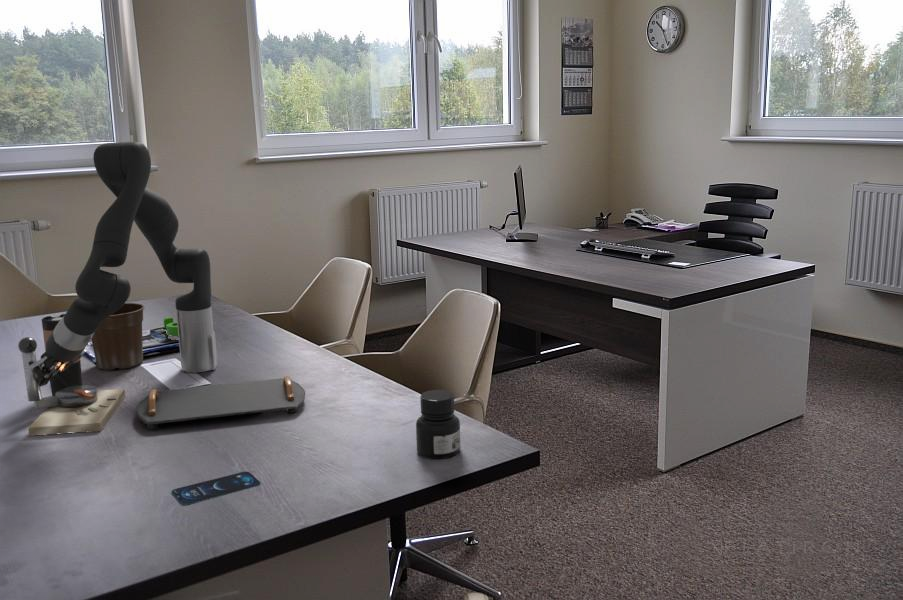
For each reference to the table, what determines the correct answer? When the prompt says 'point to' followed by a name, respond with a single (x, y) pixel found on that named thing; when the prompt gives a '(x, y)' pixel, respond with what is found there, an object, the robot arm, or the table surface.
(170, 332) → the tape dispenser
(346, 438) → the table surface
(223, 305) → the table surface
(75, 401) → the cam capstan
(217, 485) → the smartphone
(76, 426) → the flat beige board
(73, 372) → the travel mug
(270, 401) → the serving board
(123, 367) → the plant pot
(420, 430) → the ink bottle
